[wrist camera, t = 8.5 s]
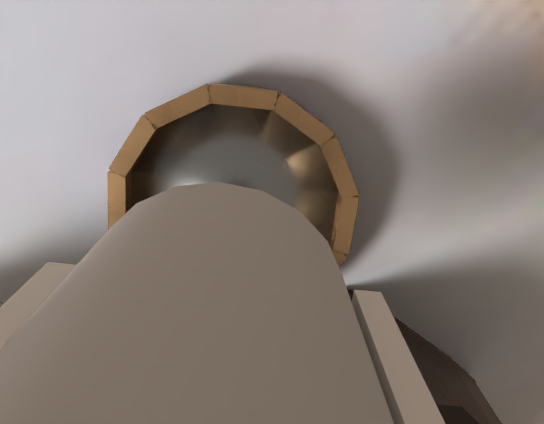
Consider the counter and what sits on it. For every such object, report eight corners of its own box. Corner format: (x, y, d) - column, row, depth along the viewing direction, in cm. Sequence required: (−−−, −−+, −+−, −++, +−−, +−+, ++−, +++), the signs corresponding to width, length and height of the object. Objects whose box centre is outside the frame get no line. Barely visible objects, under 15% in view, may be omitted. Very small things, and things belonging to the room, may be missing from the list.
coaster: (329, 308, 25) (335, 329, 23) (121, 290, 24) (109, 310, 22) (366, 98, 21) (376, 102, 19) (120, 70, 20) (105, 72, 18)
